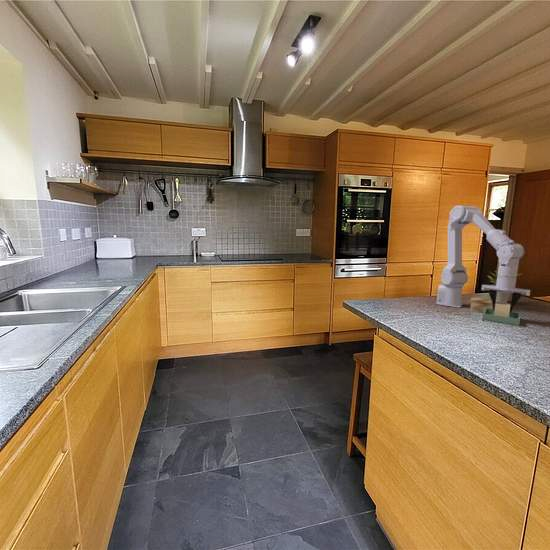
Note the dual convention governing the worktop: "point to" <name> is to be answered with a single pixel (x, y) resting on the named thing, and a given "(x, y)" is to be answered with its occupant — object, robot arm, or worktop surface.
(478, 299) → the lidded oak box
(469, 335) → the worktop surface
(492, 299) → the robot arm
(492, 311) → the tray
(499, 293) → the house plant
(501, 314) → the sandstone cube
